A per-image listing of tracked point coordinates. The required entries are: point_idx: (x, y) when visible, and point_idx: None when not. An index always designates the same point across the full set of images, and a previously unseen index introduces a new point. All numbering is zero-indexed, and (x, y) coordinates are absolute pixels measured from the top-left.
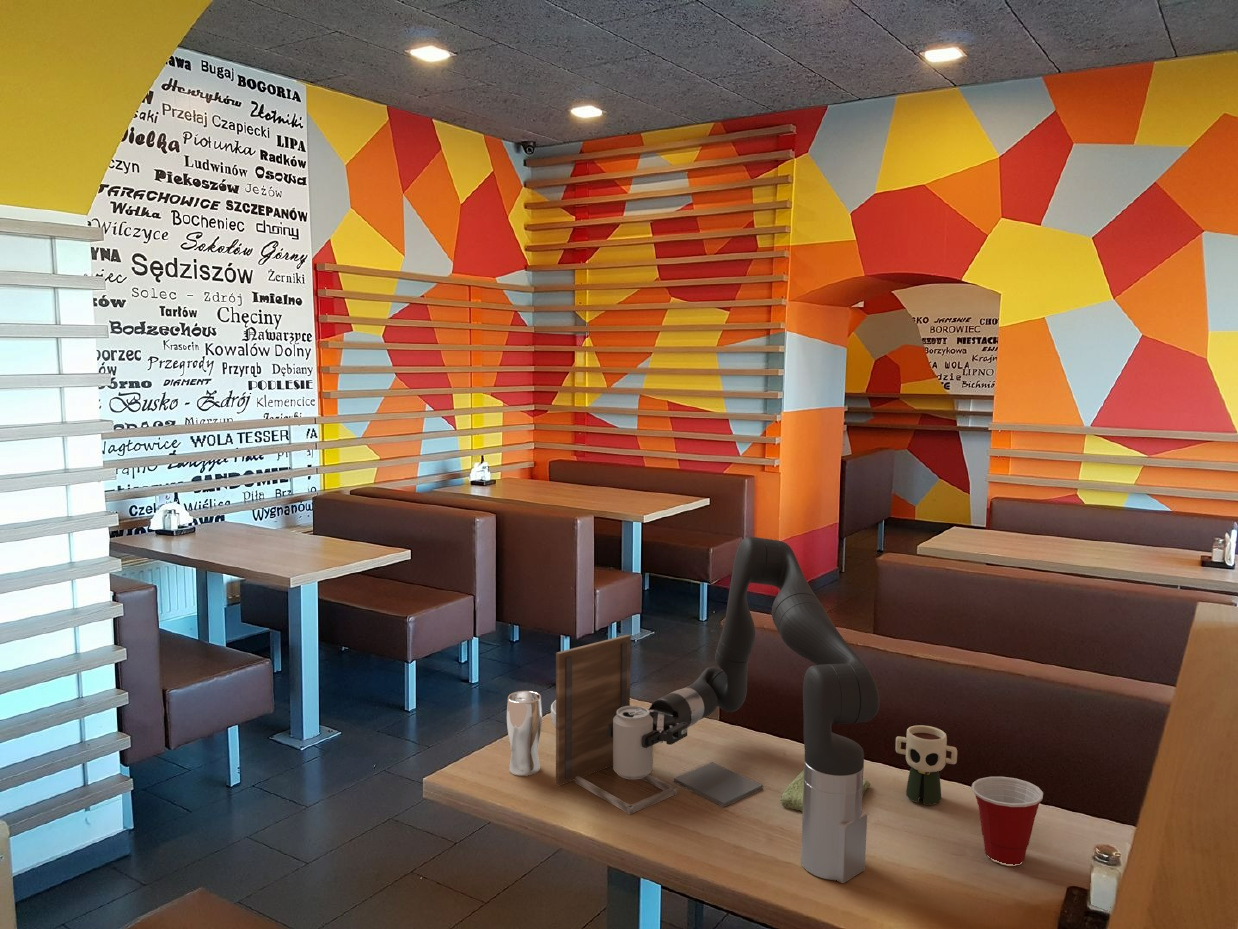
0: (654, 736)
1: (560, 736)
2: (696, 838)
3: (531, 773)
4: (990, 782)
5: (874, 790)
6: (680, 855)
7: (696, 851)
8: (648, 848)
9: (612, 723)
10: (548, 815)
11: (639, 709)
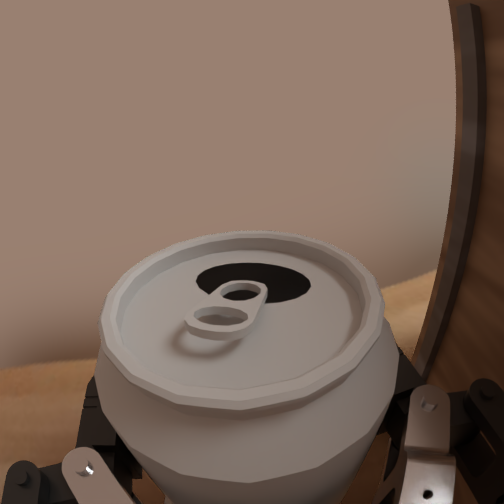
0: (86, 409)
1: (438, 278)
2: (20, 444)
3: None
4: None
5: None
6: (28, 390)
7: (10, 411)
8: (78, 376)
9: (401, 352)
10: None
11: (224, 326)
